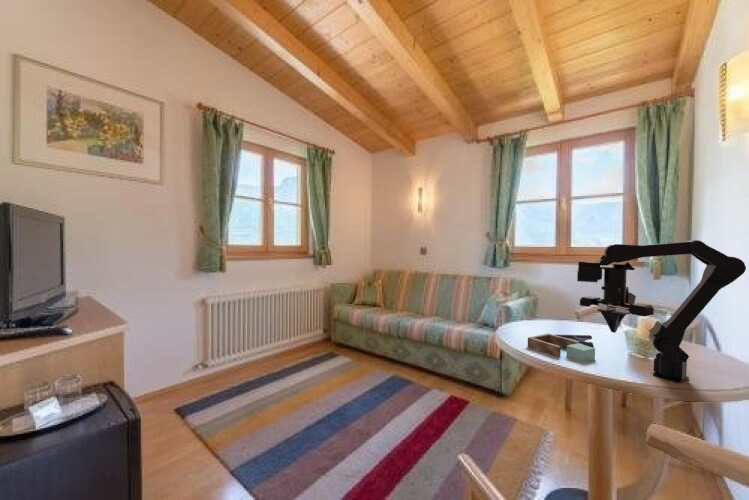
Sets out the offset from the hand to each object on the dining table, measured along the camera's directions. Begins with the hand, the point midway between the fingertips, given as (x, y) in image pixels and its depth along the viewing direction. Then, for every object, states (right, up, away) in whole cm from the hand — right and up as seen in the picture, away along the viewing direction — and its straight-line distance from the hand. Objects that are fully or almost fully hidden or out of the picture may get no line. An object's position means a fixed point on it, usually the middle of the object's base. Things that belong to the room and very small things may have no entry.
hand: (613, 332), depth 105 cm
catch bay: (-9, -11, +18) cm, 23 cm away
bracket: (+6, -11, +26) cm, 29 cm away
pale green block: (-5, -11, +9) cm, 15 cm away
